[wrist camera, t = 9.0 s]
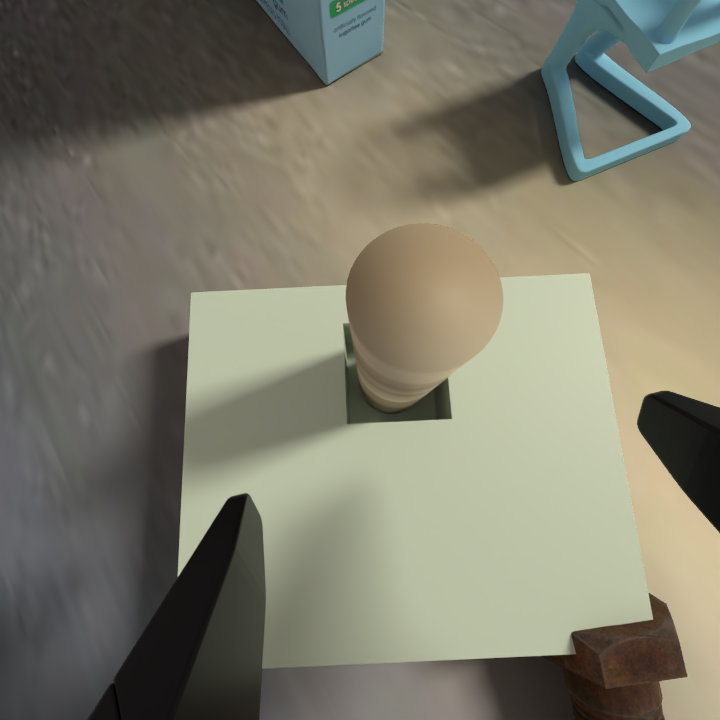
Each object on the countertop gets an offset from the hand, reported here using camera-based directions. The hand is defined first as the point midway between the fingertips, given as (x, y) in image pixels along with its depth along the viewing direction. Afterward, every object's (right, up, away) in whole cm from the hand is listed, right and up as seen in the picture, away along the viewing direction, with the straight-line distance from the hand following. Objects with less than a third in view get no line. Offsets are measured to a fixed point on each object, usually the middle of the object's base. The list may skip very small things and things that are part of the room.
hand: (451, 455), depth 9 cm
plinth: (0, -3, +12) cm, 12 cm away
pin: (0, +1, +12) cm, 12 cm away
